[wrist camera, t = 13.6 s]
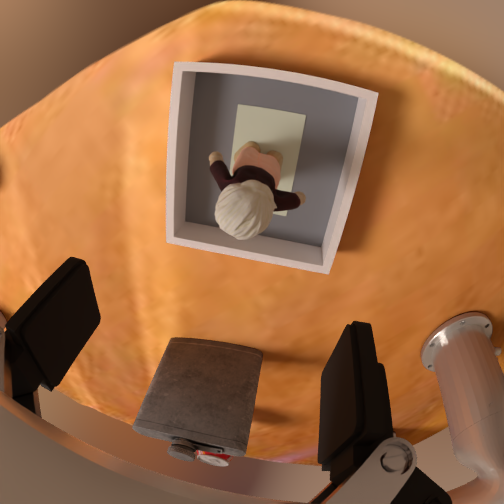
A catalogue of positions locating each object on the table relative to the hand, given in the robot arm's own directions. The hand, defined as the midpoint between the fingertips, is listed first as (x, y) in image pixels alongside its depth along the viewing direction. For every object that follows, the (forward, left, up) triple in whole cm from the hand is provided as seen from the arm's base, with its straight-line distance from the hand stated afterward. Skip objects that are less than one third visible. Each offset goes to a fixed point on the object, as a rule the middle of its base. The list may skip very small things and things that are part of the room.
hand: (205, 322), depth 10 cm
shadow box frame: (0, 0, -21) cm, 21 cm away
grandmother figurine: (0, 0, -20) cm, 20 cm away
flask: (+3, +28, -21) cm, 35 cm away
